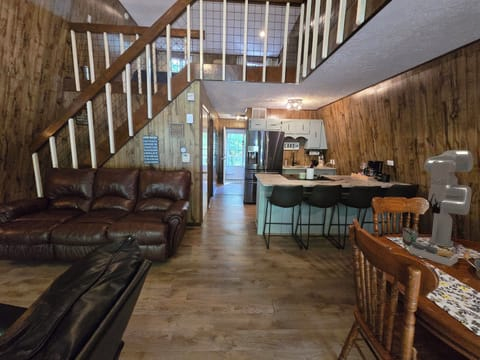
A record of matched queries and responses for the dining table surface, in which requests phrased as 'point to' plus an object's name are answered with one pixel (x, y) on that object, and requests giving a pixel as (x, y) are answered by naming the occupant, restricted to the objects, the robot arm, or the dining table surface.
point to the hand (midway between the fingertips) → (435, 213)
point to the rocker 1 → (417, 245)
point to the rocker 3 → (444, 253)
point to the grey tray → (434, 256)
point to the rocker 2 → (430, 249)
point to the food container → (409, 236)
